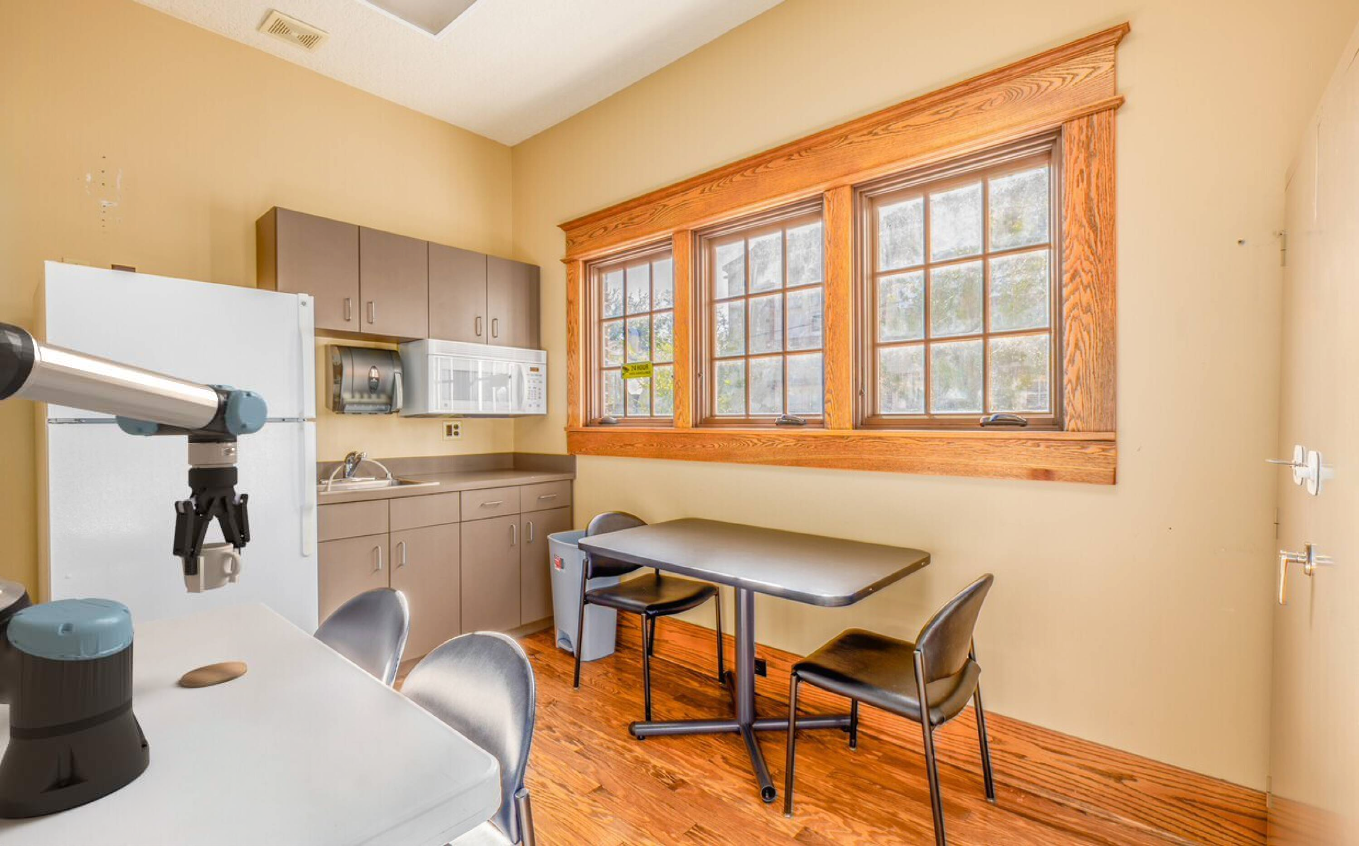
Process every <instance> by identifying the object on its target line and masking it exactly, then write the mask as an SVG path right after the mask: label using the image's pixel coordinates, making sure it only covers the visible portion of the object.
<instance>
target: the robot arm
mask: <svg viewBox="0 0 1359 846" xmlns="http://www.w3.org/2000/svg"><path fill="white" fill-rule="evenodd" d="M13 398H16V399H22V400H28V401H33V402H39V403H44V404H50V405H54V406H61V407H66V408H73V409H78V410H84V411H88V412H89V411H90V412H95V413H99V414H100V413H101V414H107V415H111V416H115V421H116V423H117V426H118V427H119V428H120V430H121V431H123V432H124V433H126V434H128V435H131V436H143V437H146V438H147V437H152V436H153V437H155V436H163V437H164V436H187V443H188V444H187V452H188V453H187V456H188V457H187V458H188V459H187V464H188V465H189V466H191V467H190V468H189V469H188V471H187V475H188V476H187V485H188V487H189V488H190V489H191V493H190V496H189V498H187V499H185V500H176V501H175V502H174V509H175V513H176V516H175V517H176V518H175V525H174V526H175V528H174V538H173V546H172V555H173V556H174V557H179V558H181V557H183V558H184V560H185V575H187V588H186V592H187V593H191V594H192V593H195V594H196V593H197V594H200V593H204V592H205V590H204V556H199V555H200V551H201V548H202V545H203V544H204V542H205V541H204V540H205V539H206V534H207V531H208V529H209V525H210V523H211V521H213V520H214V518H216V519H217V521H218V523H219V526H220V530H221V532H222V535H223V538H224V542H225V543H232V544H233V552H236V553H238V554H239V555H240V556H242V553H241V551H242V550H241V549H242V548H246V546H247V543H250V542H251V534H250V532H251V531H250V524H249V513H248V501H249V494H248V493H238V492H236V489H235V486H236V485H238V483H239V481H238V480H239V478H238V477H239V476H238V475H239V473H238V472H239V471H238V467H237V466H236V465H235V466H234V464H237V463H238V436H242V435H250V434H255V433H256V432H259V431H260V430H261V429H263V427H264V426H265V424H266V422H267V419H268V418H267V417H268V412H269V411H268V406H267V403H266V402H265V400H264V398H263V397H262V396H261V395H260V394H259V393H257V392H255V391H253V390H242V389H236V388H234V387H233V386H231V385H226V384H209V383H208V384H203V383H199V382H196V381H192V380H188V379H185V378H181V377H176V376H173V375H169V374H165V373H161V372H157V371H154V370H151V369H147V368H142V367H139V366H137V365H136V366H135V365H131V364H129V363H128V364H127V363H124V362H120V361H116V360H114V359H113V360H112V359H109V358H105V357H101V356H97V355H93V354H90V353H86V352H83V351H79V350H74V349H71V348H67V347H63V346H60V345H56V344H52V343H48V342H45V341H40V340H38V339H35V338H34V336H33V335H32V334H31V332H29V330H27V329H25V328H23V327H20V326H16V325H13V324H9V323H6V322H4V321H3V322H2V321H0V403H2V402H5V401H9V400H10V399H13ZM192 549H193V550H192ZM234 566H235V564H234V560H233V559H232V560H231V569H230V571H231V572H233V570H234ZM238 582H240V573H239V574H238V575H236V576H233V577H229V581H228V583H234V584H235V583H238ZM134 635H135V629H134V628H133V621H132V614H131V610H130V609H129V608H128V607H127V606H126V605H125V604H124V603H121V602H119V601H116V600H114V599H113V600H112V599H106V598H99V597H97V598H95V597H93V598H92V597H88V598H87V597H86V598H82V599H77V598H67V599H59V600H52V601H46V602H41V603H38V604H33V602H32V599H31V597H30V594H29V593H28V591H27V589H26V587H25V586H24V584H23V583H20V582H16V581H11V580H5V579H3V578H2V575H0V705H8V706H9V707H8V708H9V709H8V711H9V712H8V715H9V717H8V719H9V740H8V744H7V746H6V749H5V751H4V753H3V757H2V759H1V761H0V818H2V819H3V818H4V819H20V818H30V817H37V816H42V815H47V814H50V813H51V814H52V813H56V812H60V811H64V810H67V809H70V808H74V807H77V806H80V805H83V804H86V803H88V802H92V801H94V800H97V799H99V798H101V797H104V796H106V795H108V794H111V793H112V792H114V791H117V790H119V789H121V788H122V787H124V786H126V785H127V784H130V783H131V782H133V781H134V780H136V779H137V778H138V777H139V776H141V775H142V774H143V773H144V772H145V771H146V769H148V767H149V765H150V759H151V757H150V754H151V753H150V745H149V742H148V740H147V739H146V736H145V734H144V732H143V729H142V727H141V725H140V723H139V721H138V718H137V717H136V715H135V712H134V710H133V709H134V707H133V705H134V704H133V690H134V688H133V684H134V683H133V682H134V681H133V679H134V678H133V677H134V638H135V637H134Z"/></svg>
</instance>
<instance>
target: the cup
mask: <svg viewBox="0 0 1359 846" xmlns="http://www.w3.org/2000/svg"><path fill="white" fill-rule="evenodd" d="M192 550H193V549H192ZM199 556H204V591H210V590H217V589H220V588H222V587H224V586H226V585H227V584H228V583H229V582H228V581H229V577H233V576H236V575H238V574H239V575H240V572H241V570H242V567H243V560H242V559H243V558H242V555H239V554H238V553H236V552H233V544H232V543H226V541H224V542H222V541H221V542H207V543H203V545H202V548H201V551H200V555H199ZM180 558H181V565H182V572H183V580H184V586H185V587H186V589H187V575H185V560H184V558H183V557H180ZM232 559H233V560H234V564H235V566H234V570H233V572H231V571H230V569H231V560H232Z"/></svg>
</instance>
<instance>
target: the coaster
mask: <svg viewBox="0 0 1359 846" xmlns="http://www.w3.org/2000/svg"><path fill="white" fill-rule="evenodd" d="M247 671H248V665H247V664H246V663H245V662H243V661H242V662H241V661H226V662H218V663H213V664H208V665H204V666H201V667H198V668H194V669H192V670H190V671H187V672H185V674H183V675H181V678H180V685H181V686H183V687H187V688H201V687H209V686H214V685H219V684H223V683H226V682H229V681H233V680H234V679H237V678H240V677H242V676H243V675H244V674H246V673H247Z"/></svg>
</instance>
